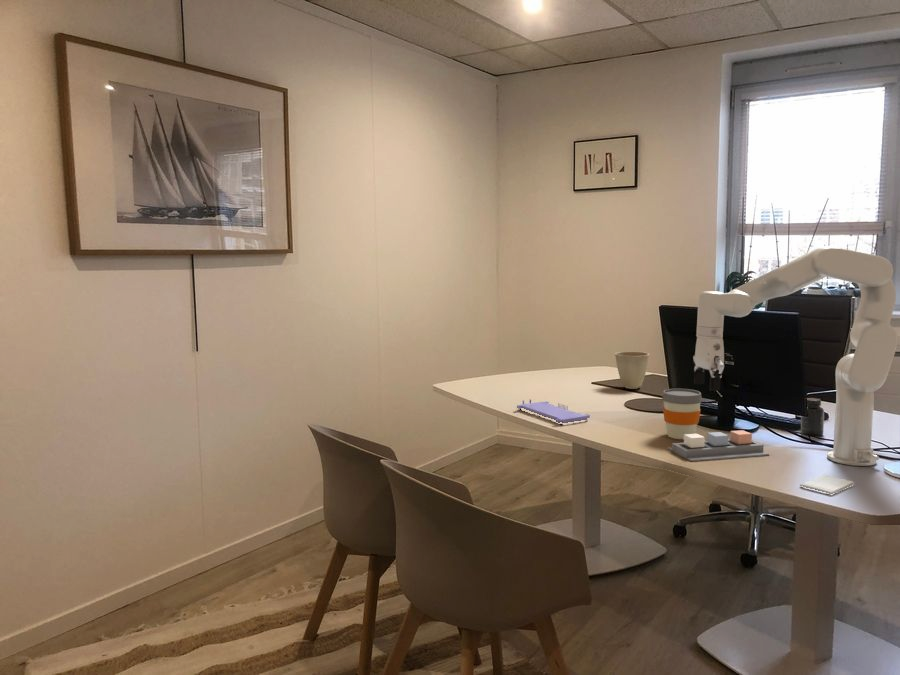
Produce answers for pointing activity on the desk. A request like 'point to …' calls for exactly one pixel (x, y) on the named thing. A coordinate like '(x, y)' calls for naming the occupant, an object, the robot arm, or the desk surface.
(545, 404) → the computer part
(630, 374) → the plant pot
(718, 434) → the slate key
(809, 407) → the supplement bottle
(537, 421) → the desk surface
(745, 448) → the tray
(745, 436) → the terracotta key
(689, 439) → the ivory key
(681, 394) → the reusable coffee cup
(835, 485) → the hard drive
